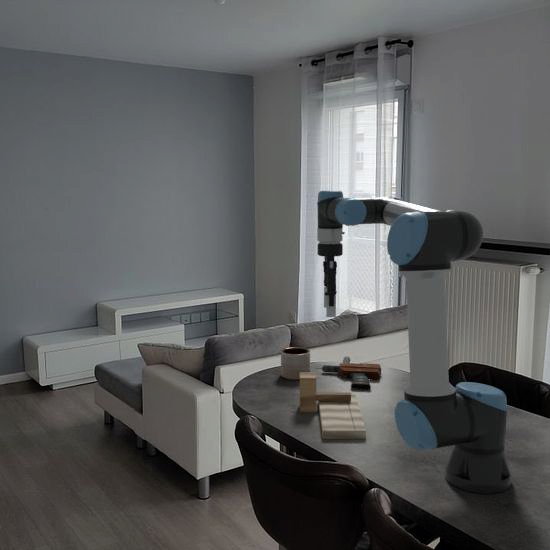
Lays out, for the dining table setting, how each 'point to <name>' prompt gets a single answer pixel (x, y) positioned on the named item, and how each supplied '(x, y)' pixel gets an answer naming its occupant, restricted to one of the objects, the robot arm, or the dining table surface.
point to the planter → (294, 362)
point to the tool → (356, 372)
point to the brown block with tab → (316, 393)
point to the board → (341, 419)
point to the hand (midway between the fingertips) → (329, 312)
